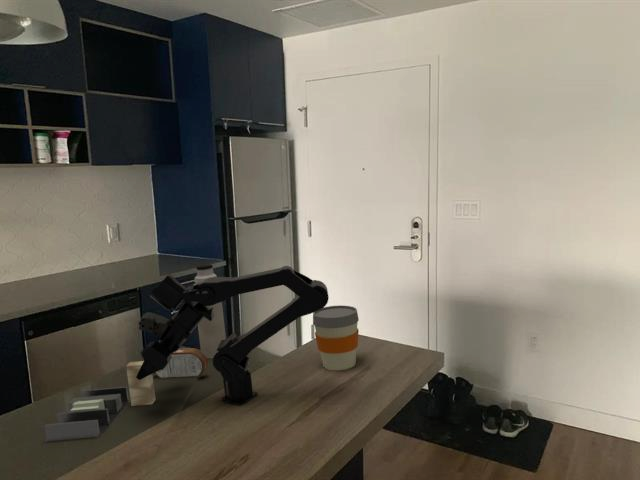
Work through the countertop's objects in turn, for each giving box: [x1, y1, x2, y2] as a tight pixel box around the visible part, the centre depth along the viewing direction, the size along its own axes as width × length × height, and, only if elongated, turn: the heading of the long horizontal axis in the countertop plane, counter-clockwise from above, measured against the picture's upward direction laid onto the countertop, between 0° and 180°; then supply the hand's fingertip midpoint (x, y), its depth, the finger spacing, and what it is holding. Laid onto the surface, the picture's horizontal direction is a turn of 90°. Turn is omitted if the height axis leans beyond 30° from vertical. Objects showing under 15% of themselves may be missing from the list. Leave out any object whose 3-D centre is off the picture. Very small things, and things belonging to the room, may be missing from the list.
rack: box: [43, 386, 131, 443], centre depth 114 cm, size 12×18×4 cm
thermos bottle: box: [193, 263, 227, 359], centre depth 153 cm, size 8×8×28 cm
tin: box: [154, 347, 209, 379], centre depth 136 cm, size 15×3×8 cm, turn 84°
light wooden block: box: [125, 360, 156, 407], centre depth 120 cm, size 5×2×11 cm, turn 91°
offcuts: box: [70, 399, 105, 412], centre depth 113 cm, size 6×4×4 cm, turn 91°
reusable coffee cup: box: [312, 305, 359, 371], centre depth 136 cm, size 13×13×15 cm
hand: (144, 370), depth 120 cm, fingers open, 9 cm apart
